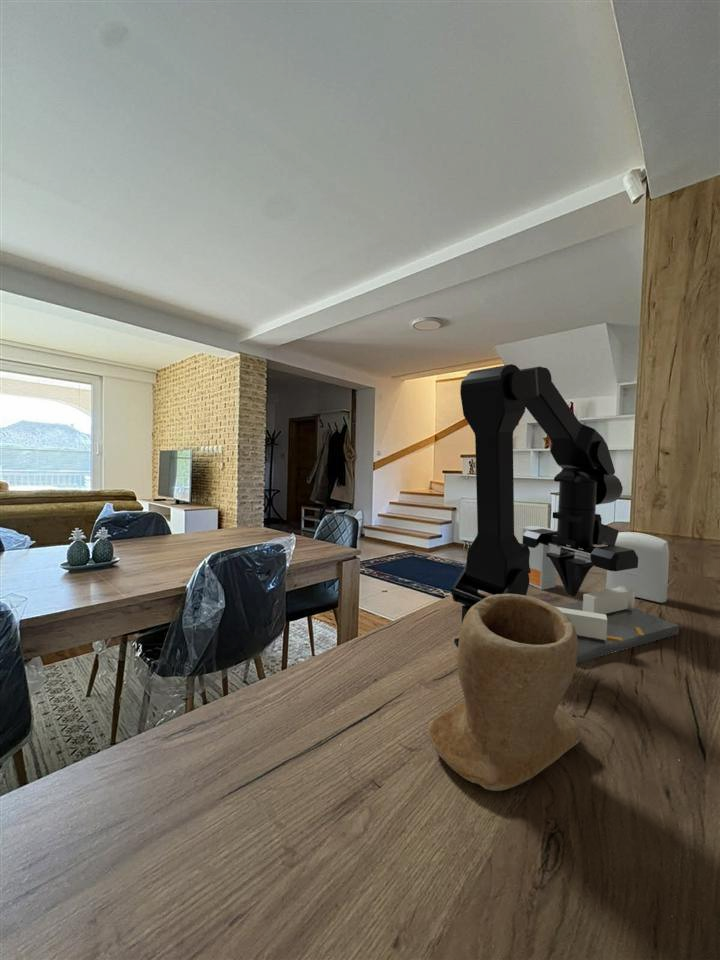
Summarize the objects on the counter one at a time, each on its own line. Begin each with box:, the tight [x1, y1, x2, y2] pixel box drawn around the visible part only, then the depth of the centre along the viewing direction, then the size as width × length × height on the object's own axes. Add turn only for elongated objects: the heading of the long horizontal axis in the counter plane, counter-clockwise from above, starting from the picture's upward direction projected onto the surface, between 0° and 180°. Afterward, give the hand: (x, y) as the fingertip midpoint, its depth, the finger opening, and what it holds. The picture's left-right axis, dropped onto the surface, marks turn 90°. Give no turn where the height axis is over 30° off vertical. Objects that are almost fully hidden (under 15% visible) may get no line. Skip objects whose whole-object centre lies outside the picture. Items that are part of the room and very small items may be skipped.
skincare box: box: [521, 525, 557, 591], centre depth 87 cm, size 6×4×12 cm
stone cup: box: [427, 594, 584, 792], centre depth 39 cm, size 15×12×15 cm
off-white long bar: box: [582, 586, 636, 614], centre depth 70 cm, size 10×2×3 cm, turn 113°
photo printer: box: [605, 531, 670, 604], centre depth 82 cm, size 10×4×12 cm, turn 39°
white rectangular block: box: [556, 607, 607, 640], centre depth 62 cm, size 10×2×3 cm, turn 65°
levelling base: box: [554, 600, 680, 665], centre depth 66 cm, size 23×13×3 cm, turn 113°
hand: (572, 595), depth 73 cm, fingers closed
